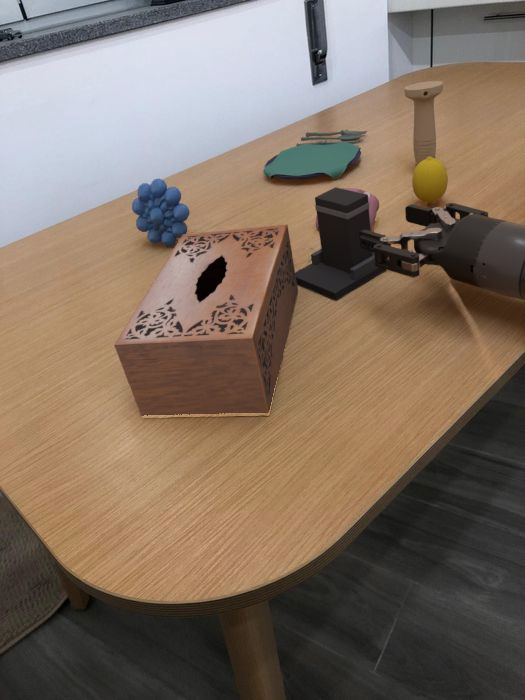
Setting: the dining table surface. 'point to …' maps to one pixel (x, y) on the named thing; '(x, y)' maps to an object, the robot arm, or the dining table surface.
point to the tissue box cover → (213, 324)
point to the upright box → (342, 227)
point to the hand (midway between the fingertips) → (384, 225)
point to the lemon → (430, 180)
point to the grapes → (160, 212)
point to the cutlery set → (316, 157)
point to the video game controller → (372, 206)
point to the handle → (424, 117)
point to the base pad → (335, 276)
